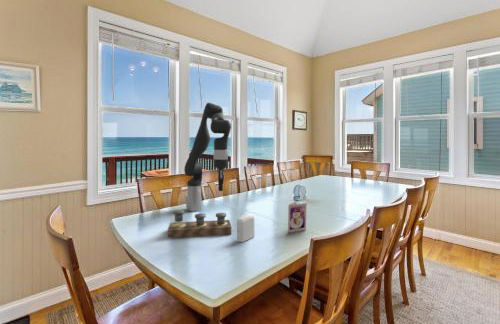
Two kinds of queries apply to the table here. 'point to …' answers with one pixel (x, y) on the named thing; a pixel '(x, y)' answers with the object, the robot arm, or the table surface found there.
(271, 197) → the table surface
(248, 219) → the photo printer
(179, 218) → the left knob
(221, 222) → the right knob
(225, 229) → the mount board
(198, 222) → the middle knob
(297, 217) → the greeting card
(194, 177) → the robot arm
